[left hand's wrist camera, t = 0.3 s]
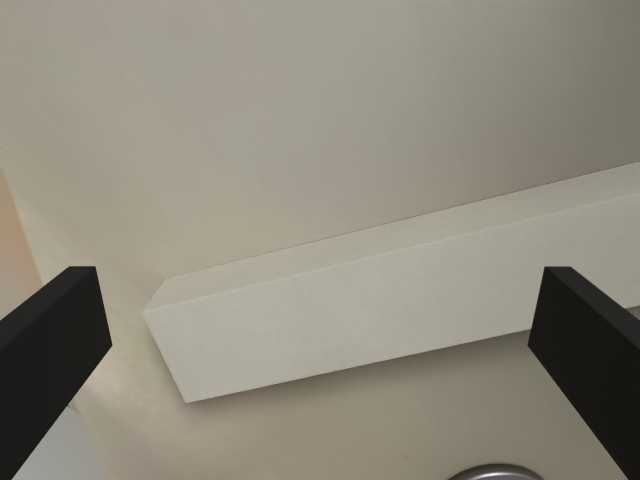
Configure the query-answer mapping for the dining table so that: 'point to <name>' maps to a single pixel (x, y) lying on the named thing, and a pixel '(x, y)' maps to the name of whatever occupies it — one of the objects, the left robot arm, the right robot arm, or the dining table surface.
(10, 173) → the dining table surface
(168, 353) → the wide beam
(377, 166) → the dining table surface
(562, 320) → the left robot arm
